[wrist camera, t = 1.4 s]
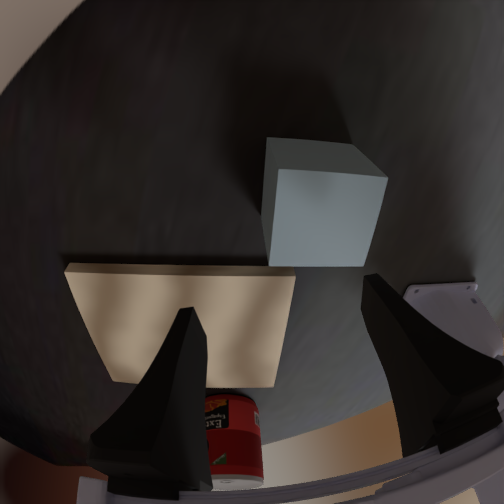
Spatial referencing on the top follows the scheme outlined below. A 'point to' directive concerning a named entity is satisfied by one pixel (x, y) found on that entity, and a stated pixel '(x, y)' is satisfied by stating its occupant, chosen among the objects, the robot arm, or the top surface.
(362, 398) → the top surface
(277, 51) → the top surface
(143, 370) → the board
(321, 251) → the cube
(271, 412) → the top surface
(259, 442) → the canned food
